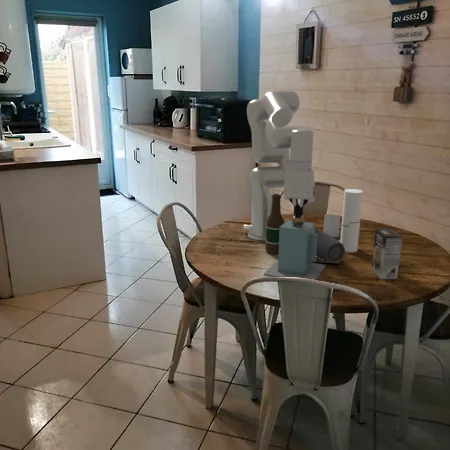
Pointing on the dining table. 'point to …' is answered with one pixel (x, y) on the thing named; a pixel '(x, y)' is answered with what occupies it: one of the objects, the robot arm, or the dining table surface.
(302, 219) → the shiny round knob
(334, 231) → the light grey block
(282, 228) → the teal block
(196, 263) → the dining table surface
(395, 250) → the coffee box
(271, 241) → the beer bottle
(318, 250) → the bluetooth speaker
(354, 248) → the cylindrical container
